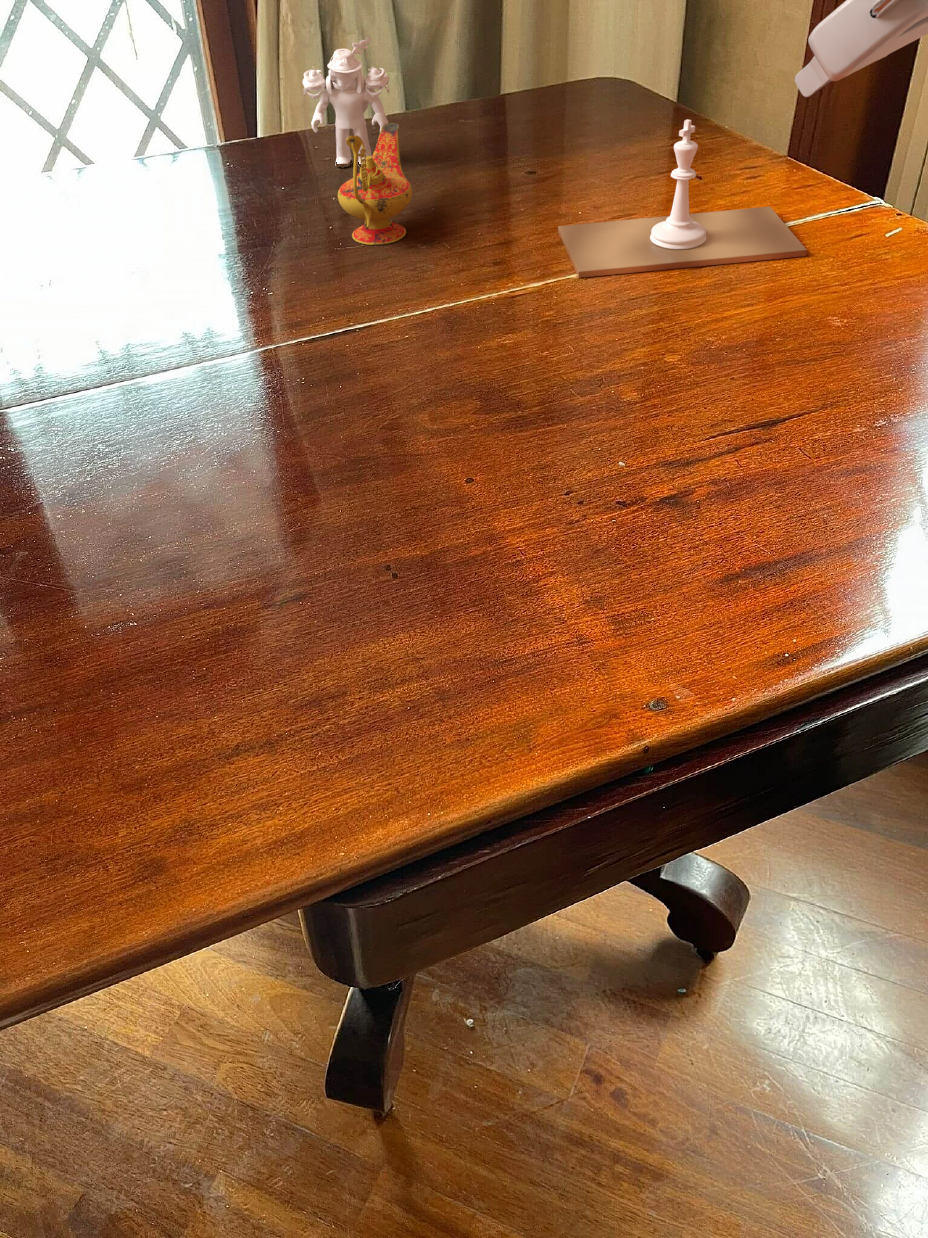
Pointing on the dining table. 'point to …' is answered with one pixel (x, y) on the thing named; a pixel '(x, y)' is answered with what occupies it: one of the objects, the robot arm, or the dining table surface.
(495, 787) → the dining table surface
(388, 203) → the magic lamp
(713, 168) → the dining table surface
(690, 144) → the chess piece
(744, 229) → the cork board
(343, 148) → the flower shoulder figurine
